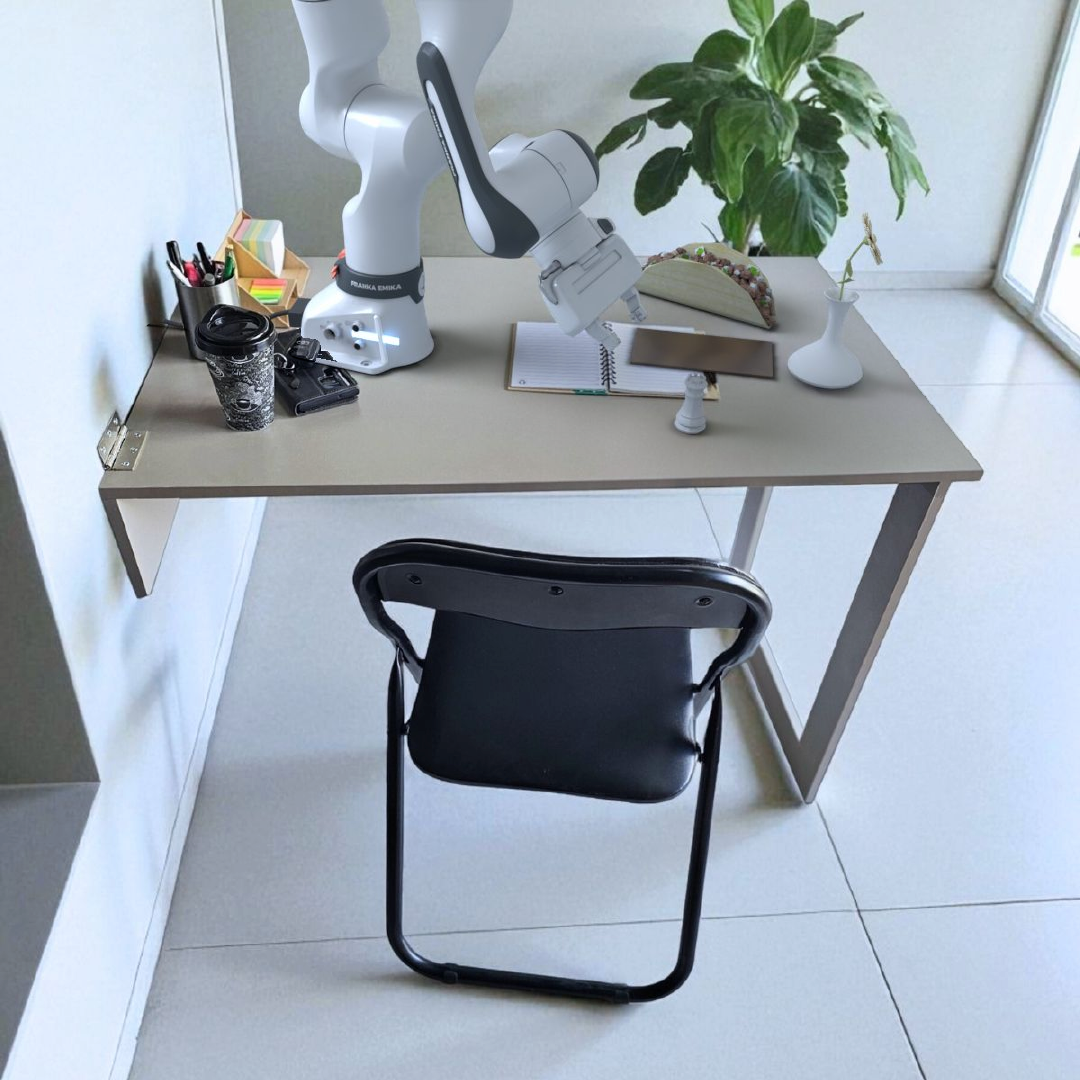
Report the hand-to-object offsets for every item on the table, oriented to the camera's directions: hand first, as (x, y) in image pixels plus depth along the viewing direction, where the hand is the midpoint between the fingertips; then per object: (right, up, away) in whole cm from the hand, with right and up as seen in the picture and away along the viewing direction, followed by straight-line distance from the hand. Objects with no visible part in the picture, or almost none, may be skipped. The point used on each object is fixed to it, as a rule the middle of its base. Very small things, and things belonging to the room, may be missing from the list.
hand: (629, 333), depth 143 cm
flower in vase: (+32, -3, +19) cm, 37 cm away
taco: (+16, +12, +37) cm, 42 cm away
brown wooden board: (+14, +1, +23) cm, 27 cm away
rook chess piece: (+9, -12, +5) cm, 16 cm away
